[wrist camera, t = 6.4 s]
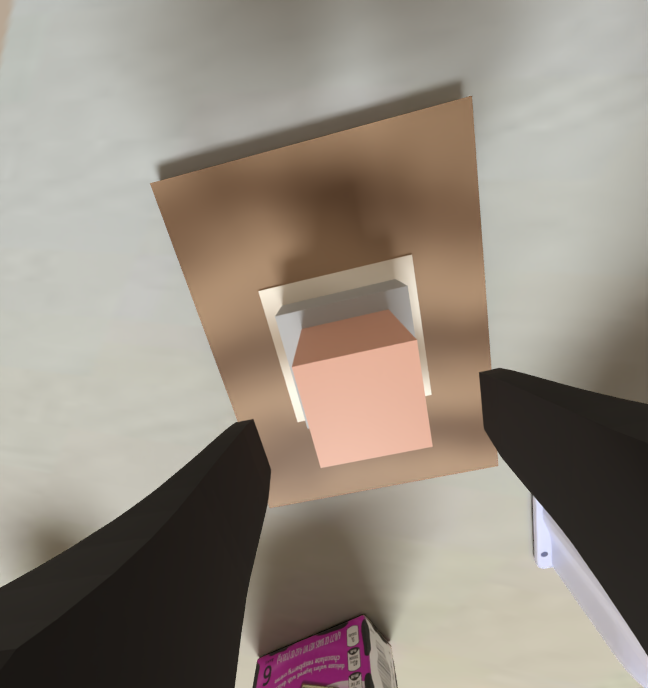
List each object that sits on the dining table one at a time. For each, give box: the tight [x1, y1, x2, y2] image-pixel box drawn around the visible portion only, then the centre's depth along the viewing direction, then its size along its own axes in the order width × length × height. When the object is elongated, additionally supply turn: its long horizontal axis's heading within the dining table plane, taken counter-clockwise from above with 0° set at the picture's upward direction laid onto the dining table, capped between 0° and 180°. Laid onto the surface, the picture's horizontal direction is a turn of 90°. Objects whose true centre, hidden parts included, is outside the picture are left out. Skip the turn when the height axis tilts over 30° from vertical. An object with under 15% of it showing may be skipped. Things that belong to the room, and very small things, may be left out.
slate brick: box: [275, 279, 415, 429], centre depth 16 cm, size 6×6×2 cm
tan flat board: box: [150, 96, 498, 508], centre depth 18 cm, size 20×15×1 cm
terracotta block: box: [292, 309, 433, 468], centre depth 13 cm, size 4×4×4 cm
